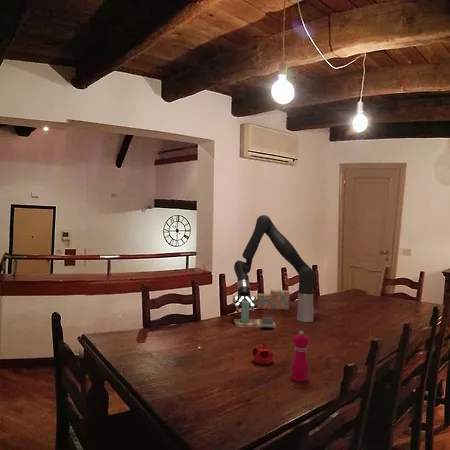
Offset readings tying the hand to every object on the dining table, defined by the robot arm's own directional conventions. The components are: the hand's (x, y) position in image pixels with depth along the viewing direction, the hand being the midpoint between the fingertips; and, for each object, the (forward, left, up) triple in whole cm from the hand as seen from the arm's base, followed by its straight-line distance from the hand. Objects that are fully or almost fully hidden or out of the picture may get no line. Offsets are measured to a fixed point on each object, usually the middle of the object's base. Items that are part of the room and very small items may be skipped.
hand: (245, 312), depth 261 cm
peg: (0, -1, -7) cm, 7 cm away
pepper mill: (-13, +79, -8) cm, 81 cm away
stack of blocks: (-26, -46, -8) cm, 54 cm away
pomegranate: (-1, +60, -8) cm, 61 cm away
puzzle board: (-6, -1, -8) cm, 10 cm away
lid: (-12, +7, -5) cm, 15 cm away
